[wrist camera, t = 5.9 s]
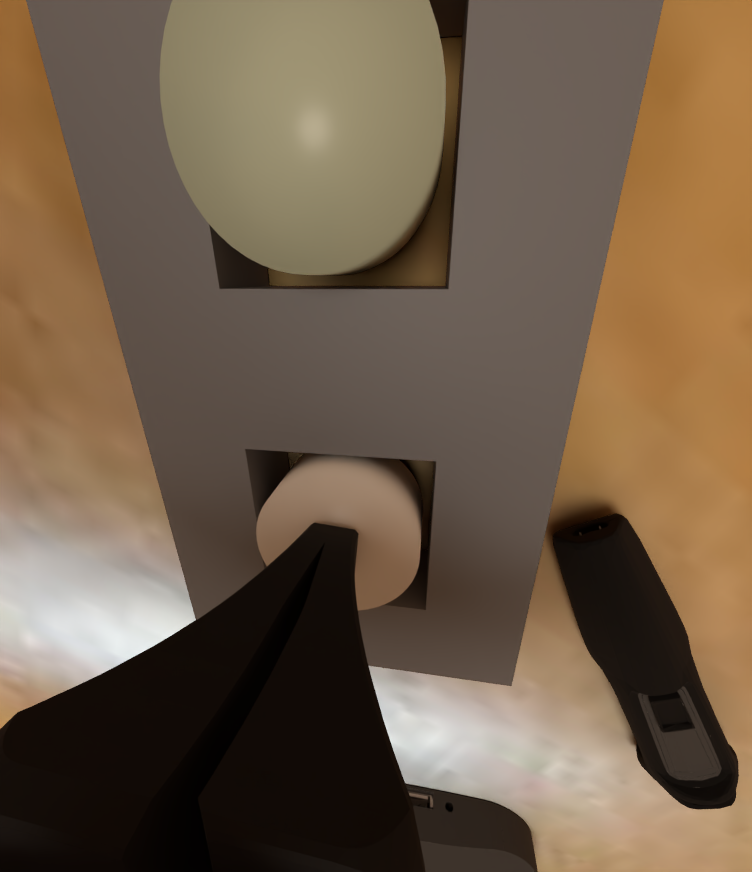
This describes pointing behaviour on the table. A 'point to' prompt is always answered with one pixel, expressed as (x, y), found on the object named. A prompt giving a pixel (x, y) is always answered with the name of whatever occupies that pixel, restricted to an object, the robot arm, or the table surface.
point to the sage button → (306, 125)
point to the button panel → (370, 311)
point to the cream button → (351, 517)
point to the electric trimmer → (646, 660)
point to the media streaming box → (470, 834)
